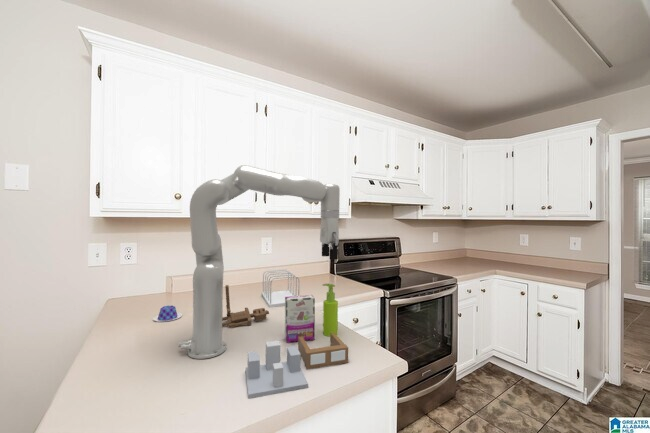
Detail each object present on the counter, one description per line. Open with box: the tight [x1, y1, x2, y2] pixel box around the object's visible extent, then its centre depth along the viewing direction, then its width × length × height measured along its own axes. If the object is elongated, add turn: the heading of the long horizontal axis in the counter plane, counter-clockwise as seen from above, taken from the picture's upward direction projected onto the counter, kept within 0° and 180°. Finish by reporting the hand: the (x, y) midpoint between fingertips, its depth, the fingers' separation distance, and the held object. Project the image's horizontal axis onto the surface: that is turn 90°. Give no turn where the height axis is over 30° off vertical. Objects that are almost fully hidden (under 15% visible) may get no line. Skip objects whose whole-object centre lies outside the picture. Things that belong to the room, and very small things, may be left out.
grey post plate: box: [245, 340, 309, 399], centre depth 82 cm, size 16×14×8 cm
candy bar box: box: [284, 294, 316, 344], centre depth 110 cm, size 11×5×16 cm, turn 105°
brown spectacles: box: [297, 333, 349, 370], centre depth 96 cm, size 14×13×5 cm
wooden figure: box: [222, 284, 270, 329], centre depth 124 cm, size 14×18×25 cm
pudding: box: [152, 305, 183, 322], centre depth 132 cm, size 12×12×5 cm
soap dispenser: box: [322, 283, 339, 338], centre depth 116 cm, size 6×7×20 cm
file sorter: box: [261, 269, 300, 308], centre depth 163 cm, size 25×17×16 cm
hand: (329, 257), depth 114 cm, fingers open, 9 cm apart
